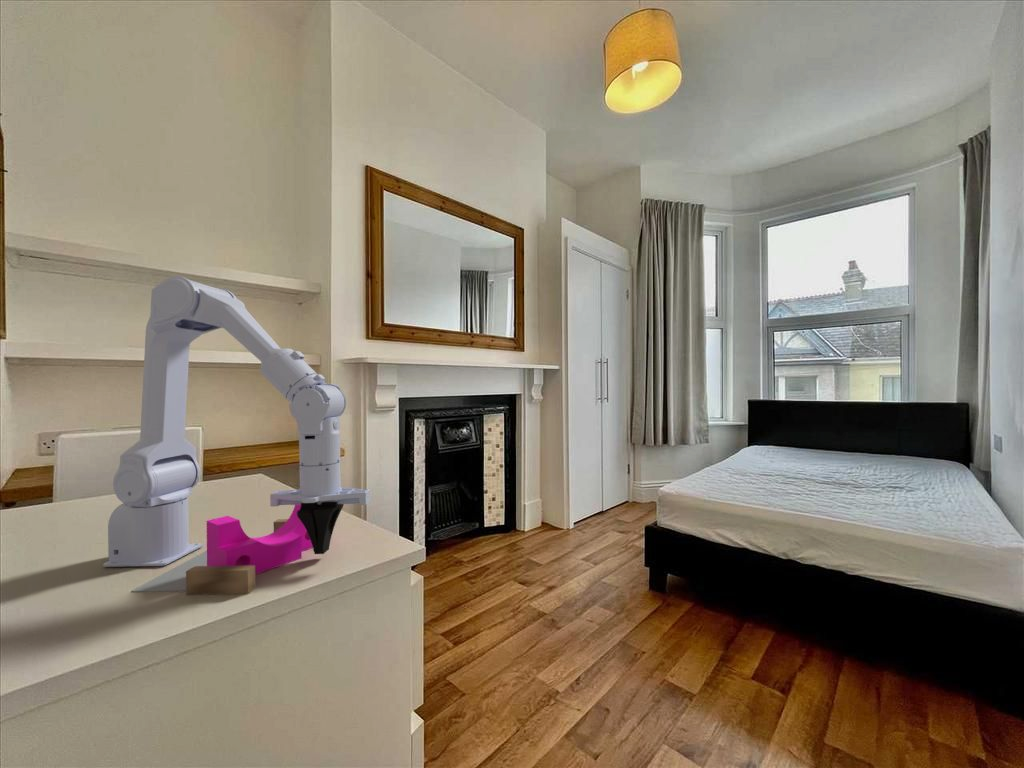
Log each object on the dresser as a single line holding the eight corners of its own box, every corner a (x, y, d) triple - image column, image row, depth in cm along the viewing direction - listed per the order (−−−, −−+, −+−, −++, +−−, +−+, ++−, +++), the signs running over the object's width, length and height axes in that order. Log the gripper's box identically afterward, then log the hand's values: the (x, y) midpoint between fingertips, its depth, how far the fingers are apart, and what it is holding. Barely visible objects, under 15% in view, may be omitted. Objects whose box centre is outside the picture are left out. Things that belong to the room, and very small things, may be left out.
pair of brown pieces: (186, 594, 54) (185, 571, 54) (278, 536, 75) (278, 519, 75) (248, 593, 54) (247, 570, 54) (323, 535, 75) (322, 518, 75)
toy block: (226, 584, 56) (226, 528, 56) (206, 573, 60) (206, 520, 60) (329, 547, 69) (328, 502, 69) (307, 540, 72) (307, 496, 72)
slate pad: (131, 595, 55) (130, 591, 55) (229, 541, 74) (229, 538, 74) (190, 594, 55) (190, 590, 55) (273, 540, 74) (273, 537, 74)
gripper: (257, 468, 60) (258, 563, 60) (357, 467, 60) (359, 561, 60) (284, 460, 68) (285, 544, 67) (374, 458, 67) (375, 543, 67)
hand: (321, 551), depth 64 cm, fingers closed
